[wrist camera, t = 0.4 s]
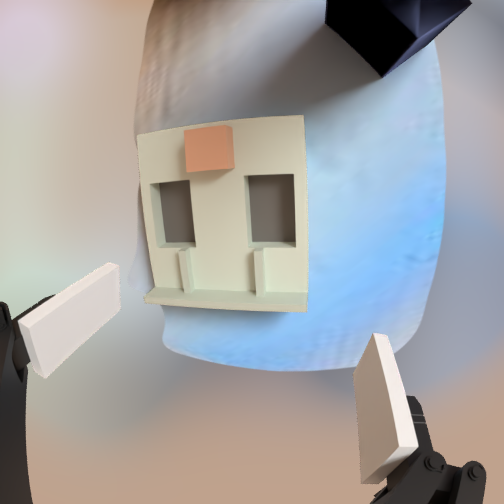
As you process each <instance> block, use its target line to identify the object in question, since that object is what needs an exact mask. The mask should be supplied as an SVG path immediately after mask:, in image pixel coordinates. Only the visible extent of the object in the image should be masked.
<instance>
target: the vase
mask: <svg viewBox="0 0 504 504" xmlns="http://www.w3.org/2000/svg"><path fill="white" fill-rule="evenodd" d="M471 4H472V3H471V1H470V0H326V14H325V24H326V25H327V26H329V27H330V28H331V29H332V30H333V31H334V32H336V33H337V34H338V35H339V36H340V37H341V38H342V39H344V40H345V41H346V42H347V43H348V44H349V45H350V46H351V47H352V48H353V49H354V50H355V51H356V52H357V53H358V54H360V55H361V56H362V57H363V58H364V59H365V60H366V61H367V62H368V63H369V64H370V65H371V67H372V68H373V69H374V70H375V71H376V72H377V73H378V74H379V75H380V76H381V77H382V78H383V77H384V76H386V75H387V74H388V73H390V72H391V71H392V70H394V69H395V68H396V67H398V66H399V65H400V64H402V63H403V62H404V61H406V60H407V59H409V58H410V57H411V56H413V55H414V54H415V53H417V52H418V51H420V50H421V49H422V48H424V47H425V46H426V45H428V44H429V43H430V42H431V41H432V40H433V39H434V38H435V37H436V36H437V35H438V34H439V33H441V32H442V31H443V30H444V29H445V28H446V27H447V26H448V25H449V24H450V23H451V22H452V21H454V20H455V18H457V17H458V16H459V15H460V14H461V13H462V12H463V11H464V10H466V9H467V8H468V7H469V6H470V5H471Z"/></svg>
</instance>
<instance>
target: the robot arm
mask: <svg viewBox="0 0 504 504" xmlns="http://www.w3.org/2000/svg"><path fill="white" fill-rule="evenodd" d="M119 268H120V267H119V266H118V265H116V264H112V263H110V262H108V263H106V264H105V265H103V266H101V267H100V268H98V269H96V270H95V271H93V272H91V273H90V274H88V275H87V276H85V277H83V278H82V279H80V280H79V281H77V282H75V283H74V284H72V285H71V286H69V287H67V288H66V289H64V290H63V291H62V292H60V293H58V294H57V295H52V296H49V297H46V298H44V299H42V300H41V301H39V302H38V304H37V303H36V304H35V305H33V306H32V308H31V307H30V308H29V309H27V310H26V311H24V312H23V313H21V314H20V315H18V316H17V317H16V318H14V319H13V320H11V316H10V312H9V308H8V306H7V304H6V303H4V302H0V504H33V502H32V497H31V491H30V485H29V476H28V467H27V455H26V431H25V430H26V427H25V426H26V425H25V418H26V417H25V415H26V389H27V375H28V369H27V364H28V363H29V362H30V361H31V364H32V367H33V369H34V371H35V372H36V373H37V374H39V375H40V376H42V377H43V378H44V379H46V378H47V377H48V376H49V375H50V374H51V373H52V372H53V371H54V370H55V369H56V368H57V367H58V366H59V365H60V364H61V363H62V362H64V361H65V360H66V359H67V358H68V357H69V356H70V355H71V354H72V353H73V352H74V351H75V350H76V349H77V348H79V347H80V346H81V345H82V344H83V343H84V342H85V341H86V340H87V339H88V338H90V336H92V335H93V334H94V333H95V332H96V331H97V330H98V329H99V328H101V327H102V326H103V325H104V324H105V323H106V322H107V321H108V320H110V319H111V318H112V317H113V316H114V315H115V314H116V313H117V312H119V311H120V310H121V305H120V271H119ZM353 380H354V389H355V398H356V409H357V420H358V434H359V450H360V470H361V484H379V483H380V482H381V481H383V480H384V479H385V478H386V477H387V486H386V487H384V488H383V489H382V490H380V491H379V492H378V493H376V494H375V495H374V496H375V498H374V499H373V501H372V502H371V503H370V504H482V503H483V497H484V491H485V483H486V471H485V469H484V467H483V466H482V465H481V464H480V463H478V462H477V461H470V462H467V463H466V464H465V465H464V466H463V467H462V468H460V467H456V466H452V465H447V464H446V461H445V459H444V457H443V456H442V455H441V454H440V453H438V452H435V451H433V447H432V443H431V440H430V435H429V432H428V428H427V425H426V424H425V422H426V421H425V417H424V416H423V411H422V407H421V405H420V403H419V402H418V401H417V399H416V398H415V397H414V396H406V394H405V391H404V387H403V384H402V381H401V377H400V374H399V371H398V367H397V364H396V361H395V358H394V355H393V352H392V348H391V345H390V342H389V340H388V337H387V335H383V334H378V333H373V334H372V336H371V339H370V341H369V343H368V345H367V347H366V349H365V351H364V353H363V355H362V357H361V359H360V361H359V363H358V365H357V367H356V369H355V371H354V373H353Z"/></svg>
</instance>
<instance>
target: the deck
mask: <svg viewBox="0 0 504 504" xmlns="http://www.w3.org/2000/svg"><path fill="white" fill-rule="evenodd" d="M220 125H227V126H229V127H232V130H233V146H234V162H235V168H230V169H218V170H206V171H195V172H187V170H186V156H185V141H184V130H190V129H197V128H204V127H212V126H220ZM137 149H138V162H139V173H140V174H139V175H140V185H141V195H142V204H143V212H144V220H145V228H146V235H147V242H148V248H149V255H150V261H151V267H152V272H153V278H154V283H155V287H154V288H153V289H152V290H151V291H150V292H148V293H147V294H146V295H145V296H144V301H145V303H149V304H160V305H171V306H183V307H196V308H211V309H228V310H248V311H274V312H307V303H308V191H307V164H306V144H305V127H304V115H290V116H271V117H257V118H245V119H235V120H225V121H217V122H209V123H202V124H195V125H188V126H182V127H176V128H171V129H165V130H160V131H155V132H150V133H145V134H140V135H137Z"/></svg>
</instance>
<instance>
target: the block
mask: <svg viewBox="0 0 504 504" xmlns="http://www.w3.org/2000/svg"><path fill="white" fill-rule="evenodd" d="M184 141H185V156H186V170H187V172H195V171H206V170H218V169H230V168H235V162H234V146H233V130H232V127H229V126H227V125H220V126H212V127H204V128H197V129H190V130H184Z"/></svg>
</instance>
